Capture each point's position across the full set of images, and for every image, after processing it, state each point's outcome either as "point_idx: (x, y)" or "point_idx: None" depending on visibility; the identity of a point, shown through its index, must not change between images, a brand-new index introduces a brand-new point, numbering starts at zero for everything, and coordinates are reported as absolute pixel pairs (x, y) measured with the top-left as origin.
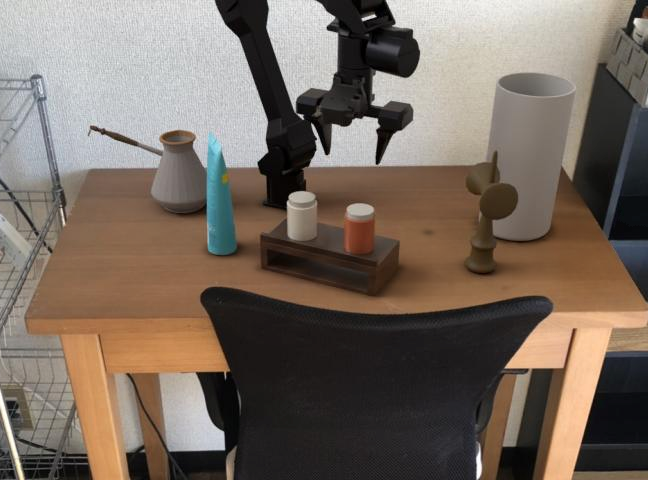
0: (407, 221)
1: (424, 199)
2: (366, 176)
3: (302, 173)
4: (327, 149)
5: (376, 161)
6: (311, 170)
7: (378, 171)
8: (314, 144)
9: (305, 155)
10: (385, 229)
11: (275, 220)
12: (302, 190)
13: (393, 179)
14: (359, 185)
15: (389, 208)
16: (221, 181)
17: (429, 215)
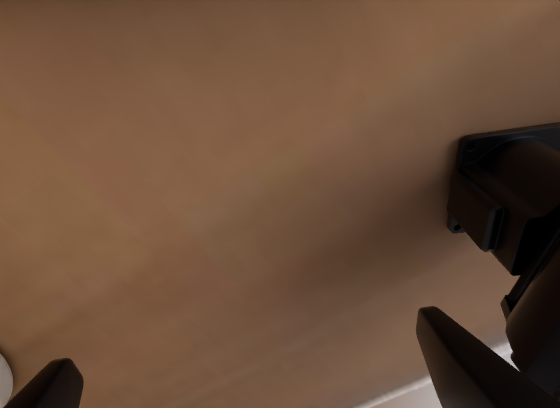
0: (136, 263)
1: (182, 359)
2: (358, 372)
3: (507, 259)
4: (437, 343)
5: (43, 379)
6: (490, 338)
7: (345, 397)
8: (539, 380)
9: (549, 303)
10: (150, 196)
11: (496, 49)
12: (470, 210)
13: (297, 388)
14: (352, 339)
15: (222, 292)
16: None
17: (115, 312)
